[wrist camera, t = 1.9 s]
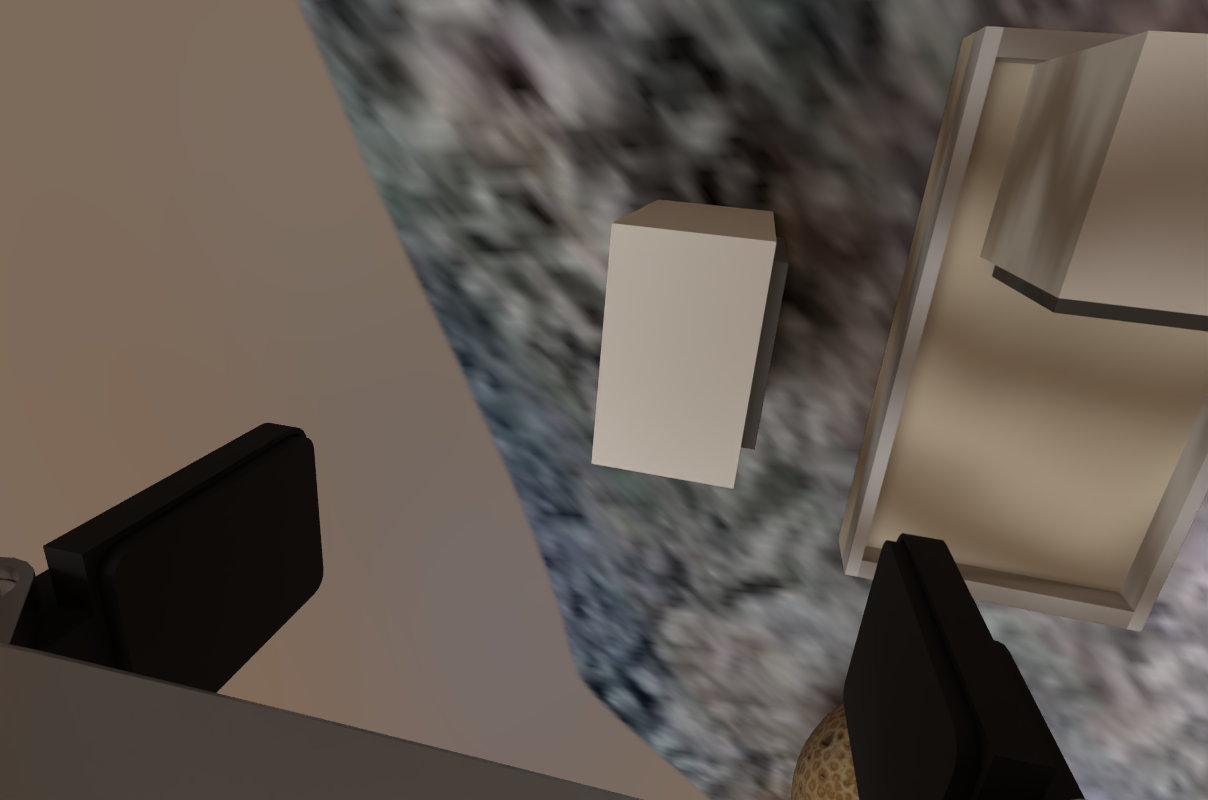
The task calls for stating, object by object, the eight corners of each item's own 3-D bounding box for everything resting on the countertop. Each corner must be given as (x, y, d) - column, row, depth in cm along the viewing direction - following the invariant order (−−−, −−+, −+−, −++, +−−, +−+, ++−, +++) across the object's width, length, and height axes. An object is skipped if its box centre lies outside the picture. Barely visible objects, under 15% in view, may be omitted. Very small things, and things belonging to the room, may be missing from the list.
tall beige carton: (786, 212, 26) (795, 244, 18) (754, 393, 29) (749, 491, 21) (658, 199, 27) (612, 223, 19) (639, 375, 30) (591, 463, 22)
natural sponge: (907, 600, 31) (967, 792, 22) (1029, 730, 32) (1135, 968, 22) (751, 687, 34) (746, 884, 25) (865, 802, 35) (900, 1032, 26)
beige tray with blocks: (962, 38, 23) (1063, -16, 15) (1339, 61, 21) (1673, 12, 13) (838, 539, 30) (863, 675, 23) (1108, 589, 28) (1237, 756, 21)
